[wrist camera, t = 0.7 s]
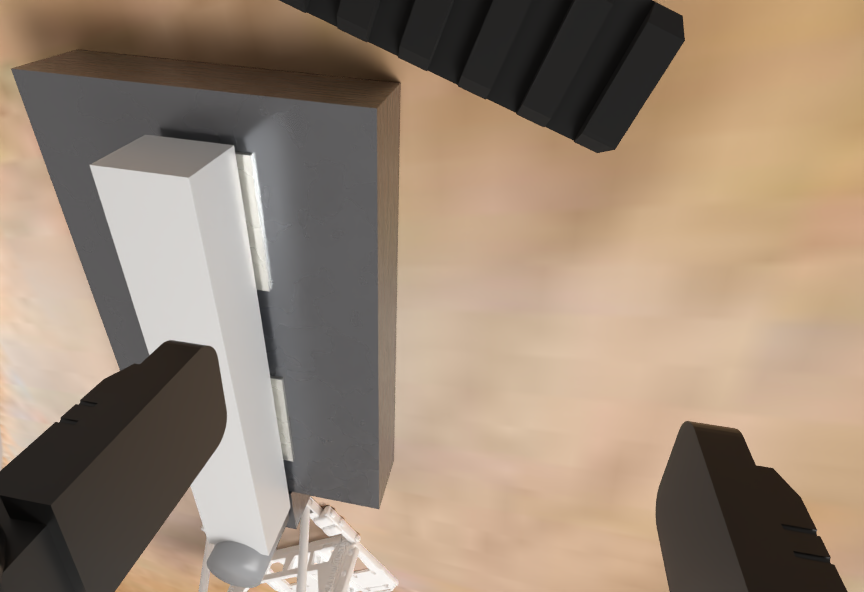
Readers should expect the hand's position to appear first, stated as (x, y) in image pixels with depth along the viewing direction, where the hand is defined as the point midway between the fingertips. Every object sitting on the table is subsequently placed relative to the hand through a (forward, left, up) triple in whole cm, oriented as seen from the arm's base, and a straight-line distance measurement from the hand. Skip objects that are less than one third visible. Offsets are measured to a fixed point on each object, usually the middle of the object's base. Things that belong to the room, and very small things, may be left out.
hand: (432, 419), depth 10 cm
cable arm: (+15, -13, -14) cm, 25 cm away
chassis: (+14, -13, -19) cm, 27 cm away
